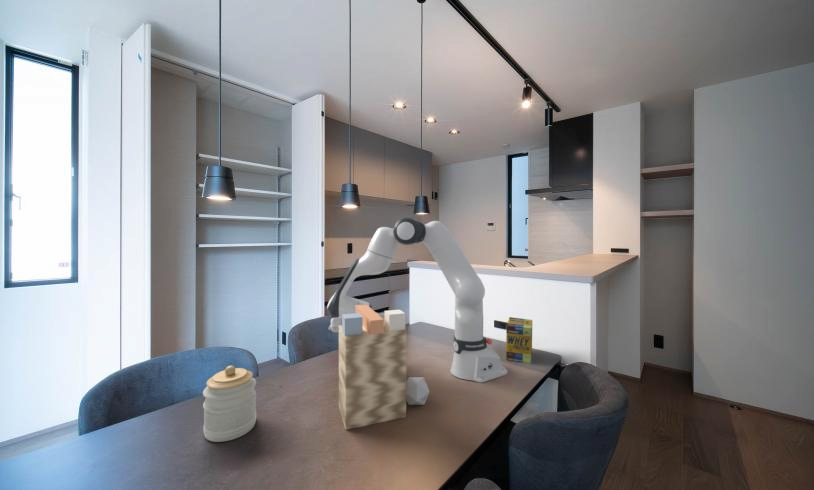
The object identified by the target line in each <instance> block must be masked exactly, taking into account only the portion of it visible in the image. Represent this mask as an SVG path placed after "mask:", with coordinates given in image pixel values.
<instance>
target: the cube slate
mask: <svg viewBox="0 0 814 490" xmlns="http://www.w3.org/2000/svg"><path fill="white" fill-rule="evenodd" d="M342 332H343V334H344V336H353V335H362V334H363V317H362V316H361V315H360V314H359V313H353V314H342Z"/></svg>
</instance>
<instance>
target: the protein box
mask: <svg viewBox="0 0 814 490" xmlns="http://www.w3.org/2000/svg"><path fill="white" fill-rule="evenodd" d="M505 334H506V335H505V336H506V337H505V340H506V341H505V346H506V348H505V360H506V361H509V362H517V363H524V364H529V365H531V364H532V354H533V352H532V351H533V319H529V318H520V317H512V316H511V317H509V318H508V320H507V324H506V333H505Z"/></svg>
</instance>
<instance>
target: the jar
mask: <svg viewBox="0 0 814 490" xmlns="http://www.w3.org/2000/svg"><path fill="white" fill-rule="evenodd" d="M253 375H254V374H253V372H252V371H250V370H247V369H246V368H242V367H235V366H234V365H228V366H226V368H225V369H224V370H221V371H218V372H217V373H215V374H214V375H213V376H211V377H210V378H209V379H207V381H206V383H205V385H206V387H205V388H204V389H203V391H202V395H203V397H204V399H205V400H204V402H203V404H202V408H203V434H204V437H205V439H206V440H207V441H209V442H213V443H221V442H228V441H232V440H236V439H238V438H240V437H242V436H245V435H246V434H247V433H249V432H250V431H251V430H253V428H254V427H255V425H256V421H257V409H256V407H257V406H256V405H257V401H256V399H257V398H256V397H257V391H256V390H255V387H256V385H257V380H256V379H255V378H254V377H253Z"/></svg>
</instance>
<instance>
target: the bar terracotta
mask: <svg viewBox="0 0 814 490" xmlns="http://www.w3.org/2000/svg"><path fill="white" fill-rule="evenodd" d="M372 309H373V308H372ZM372 309H371V308H370V307H369V306H368V305H355V313H359V314H360V315H361V316H362V317H363V327H364V328H365V329H366V330H367V331H368V333H369V334H370V335H373V334H382V333H384V319H383V318H382V317H380V316H379V315H378V314H379V313H378V312H376V311H374V309H373V310H372ZM377 313H378V314H377Z"/></svg>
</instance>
